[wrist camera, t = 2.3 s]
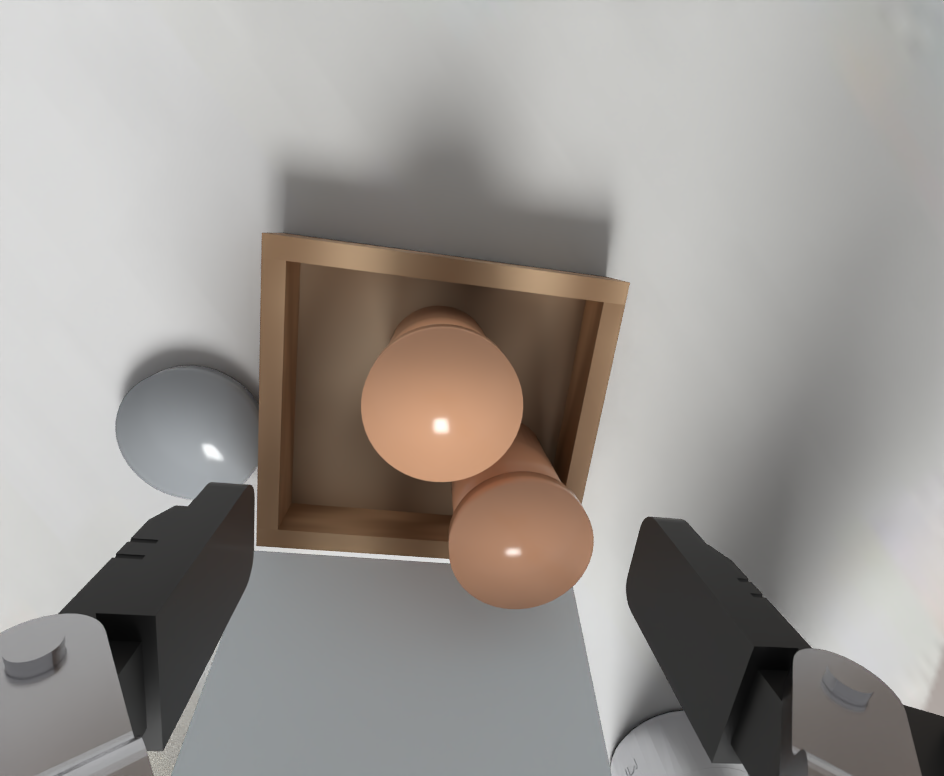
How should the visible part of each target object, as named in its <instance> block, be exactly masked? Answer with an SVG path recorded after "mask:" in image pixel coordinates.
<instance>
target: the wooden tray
mask: <svg viewBox="0 0 944 776" xmlns="http://www.w3.org/2000/svg"><path fill="white" fill-rule="evenodd" d="M629 285H630V283H629V282H625V281H621V280H617V279H613V278H609V277H603V276H596V275H589V274H581V273H574V272H567V271H559V270H552V269H545V268H537V267H530V266H523V265H515V264H508V263H501V262H493V261H486V260H478V259H471V258H464V257H456V256H449V255H442V254H434V253H427V252H420V251H412V250H405V249H398V248H390V247H383V246H376V245H368V244H361V243H354V242H346V241H339V240H332V239H324V238H317V237H310V236H302V235H295V234H288V233H262V254H261V311H260V369H259V427H258V485H257V543H256V546H266V547H280V548H295V549H310V550H325V551H340V552H355V553H370V554H385V555H400V556H415V557H430V558H445V559H450V558H449V545H448V530H449V525H450V521H451V518H452V515H453V504H452V492H451V481H450V482H432V481H425V480H421V479H417V478H414V477H411V476H409V475H406V474H404V473H402V472H400V471H399V470H397V469H395V468H394V467H393V466H391V465H390V464H388V463H387V462H386V461H385V460H384V459H383V458H382V457H381V456H380V455H379V454H378V452H377V451H376V450H375V449H374V447H373V445H372V444H371V442H370V440H369V438H368V436H367V434H366V431H365V428H364V425H363V421H362V414H361V399H362V392H363V388H364V385H365V381H366V379H367V376H368V374H369V372H370V370H371V367H372V365H373V363H374V362H375V360H376V359H377V357H378V355H379V354H380V353H381V352H382V351H383V350H384V348H385V347H386V346H388V344H389V341H390V338H391V336H392V334H393V332H394V330H395V329H396V327H397V326H398V325H399V323H400V322H401V321H402V320H403V319H404V318H405V317H407V316H408V315H410V314H411V313H413V312H415V311H417V310H419V309H422V308H425V307H429V306H448V307H453V308H456V309H459V310H461V311H463V312H465V313H466V314H468V315H469V316H471V317H472V318H473V319H474V320H475V321H476V322H477V323H478V324H479V325H480V327H481V328H482V330H483V331H484V333H485V335H486V337H487V338H488V339H490V340H491V341H492V342H493V343H494V344H496V345H497V346H498V347H499V348H500V350H501V351H502V352H503V353H504V354H505V356H506V357H507V359H508V360H509V362H510V363H511V365H512V367H513V368H514V370H515V372H516V374H517V377H518V379H519V382H520V385H521V389H522V395H523V414H522V420H521V423H523V424H524V425H526V426H527V427H528V428H530V429H531V430H532V431H533V432H534V434H535V435H536V436H537V438H538V439H539V441H540V443H541V445H542V447H543V449H544V451H545V453H546V455H547V456H548V458H549V460H550V462H551V464H552V466H553V468H554V470H555V472H556V474H557V475H558V477H559V479H560V481H561V482H562V483H563V484H564V485H566V486H567V487H568V488H569V489H570V490H571V491H572V492H573V493H574V494H575V496H576V497H577V499H578V500H579V502H580V503H581V504H582V499H583V495H584V490H585V485H586V481H587V476H588V472H589V467H590V463H591V458H592V453H593V449H594V444H595V440H596V435H597V431H598V426H599V422H600V417H601V412H602V408H603V403H604V399H605V394H606V390H607V385H608V380H609V376H610V371H611V367H612V362H613V358H614V353H615V348H616V344H617V339H618V335H619V330H620V326H621V321H622V317H623V312H624V307H625V303H626V298H627V294H628V289H629Z"/></svg>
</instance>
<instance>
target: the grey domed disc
mask: <svg viewBox="0 0 944 776" xmlns="http://www.w3.org/2000/svg"><path fill="white" fill-rule="evenodd" d="M258 427H259V404H258V402H257V401H256V399H255V398H254V397H253V395H252V394H251V393H250V392H249V391H248V390H247V389H246V388H245V387H244V386H243V385H242V384H240V383H239V382H238V381H236V380H235V379H233V378H232V377H230V376H228V375H226V374H224V373H222V372H220V371H217V370H214V369H211V368H207V367H201V366H191V365H186V366H176V367H171V368H168V369H165V370H162V371H160V372H158V373H156V374H154V375H152V376H150V377H148V378H146V379H144V380H142V381H141V382H139V383H138V384H137V385H135V386H134V387H133V388H132V389H131V390H130V391H129V392H128V393H127V395H126V396H125V397H124V399H123V401H122V403H121V404H120V407H119V410H118V413H117V417H116V438H117V442H118V446H119V449H120V451H121V453H122V455H123V457H124V459H125V460H126V462H127V464H128V465H129V466H130V468H131V469H132V470H133V471H134V472H135V473H136V474H137V475H138V476H139V477H140V478H141V479H142V480H144V481H145V482H146V483H147V484H149V485H150V486H152V487H154V488H155V489H157V490H159V491H161V492H163V493H166V494H169V495H172V496H175V497H179V498H185V499H195V498H196V497H197V495H198V494H199V493H200V492H201V491H202V490H203V489H204V487H205V486H206V485H207V484H208V483H210V482H220V483H233V484H243V483H244V482H245V481H246V480H247V479H248V478H249V477H250V476H251V474H252V473H253V472H254V470H255V469H256V468H257V466H258Z"/></svg>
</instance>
